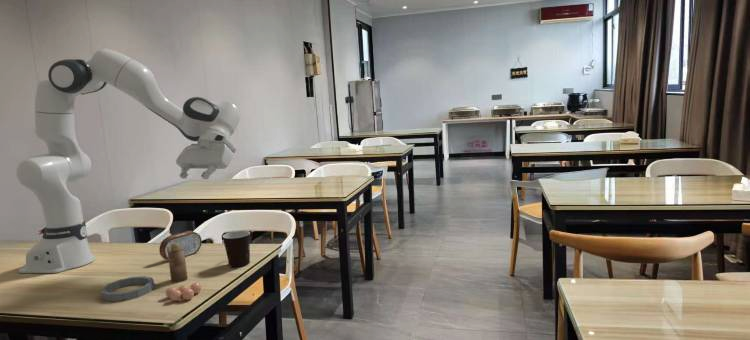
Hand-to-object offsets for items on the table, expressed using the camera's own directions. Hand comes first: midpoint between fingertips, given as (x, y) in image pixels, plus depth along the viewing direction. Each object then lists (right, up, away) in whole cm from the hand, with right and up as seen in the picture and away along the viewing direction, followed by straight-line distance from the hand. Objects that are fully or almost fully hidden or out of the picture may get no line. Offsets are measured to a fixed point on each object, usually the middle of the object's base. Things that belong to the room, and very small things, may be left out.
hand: (193, 177), depth 156 cm
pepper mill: (-2, -31, -7) cm, 32 cm away
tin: (-9, -28, +16) cm, 33 cm away
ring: (-13, -33, -14) cm, 38 cm away
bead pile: (+5, -32, -21) cm, 39 cm away
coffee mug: (+14, -28, +5) cm, 32 cm away
